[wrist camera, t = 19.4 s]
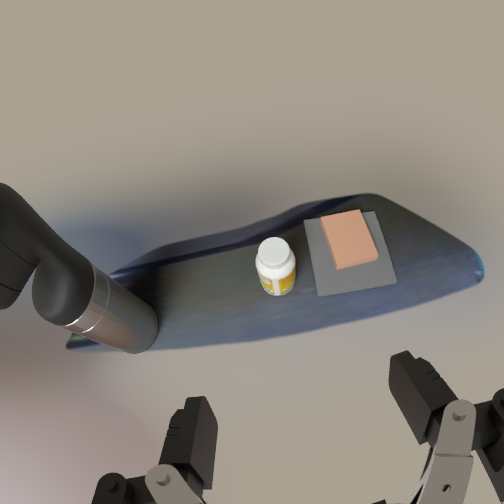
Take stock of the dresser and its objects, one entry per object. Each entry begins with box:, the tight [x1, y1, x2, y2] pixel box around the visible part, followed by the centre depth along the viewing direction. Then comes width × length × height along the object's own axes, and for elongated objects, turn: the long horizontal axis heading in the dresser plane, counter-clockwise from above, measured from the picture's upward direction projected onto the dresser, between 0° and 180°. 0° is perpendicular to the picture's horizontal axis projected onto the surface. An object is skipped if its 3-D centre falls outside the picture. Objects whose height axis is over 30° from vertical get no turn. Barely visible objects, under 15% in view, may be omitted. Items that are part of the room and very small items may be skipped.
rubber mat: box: [304, 211, 397, 297], centre depth 44 cm, size 13×14×1 cm
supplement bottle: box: [256, 237, 296, 295], centre depth 40 cm, size 5×5×10 cm
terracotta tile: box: [320, 210, 379, 270], centre depth 44 cm, size 2×7×9 cm
